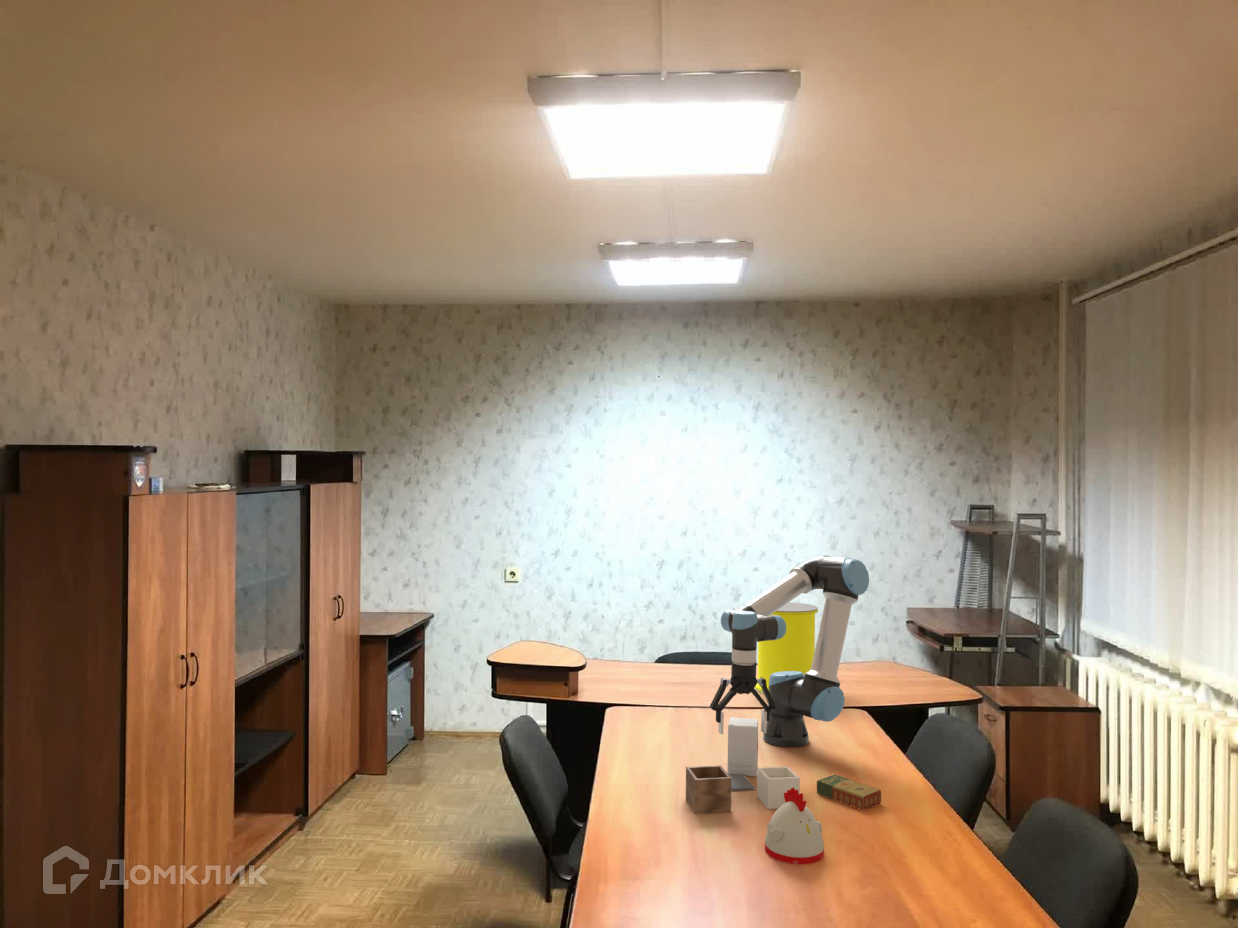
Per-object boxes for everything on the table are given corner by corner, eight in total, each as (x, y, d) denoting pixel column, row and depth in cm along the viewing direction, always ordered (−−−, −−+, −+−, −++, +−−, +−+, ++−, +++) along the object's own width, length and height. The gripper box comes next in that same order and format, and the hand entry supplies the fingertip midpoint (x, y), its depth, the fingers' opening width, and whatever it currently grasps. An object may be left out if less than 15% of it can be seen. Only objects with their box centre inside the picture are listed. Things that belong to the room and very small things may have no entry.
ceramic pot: (787, 794, 240) (787, 766, 240) (799, 806, 231) (799, 777, 231) (757, 796, 239) (757, 767, 239) (767, 808, 230) (768, 779, 230)
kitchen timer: (786, 868, 195) (787, 802, 195) (753, 844, 208) (754, 782, 208) (835, 858, 201) (836, 794, 201) (801, 835, 213) (801, 775, 213)
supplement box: (757, 777, 254) (757, 726, 254) (726, 774, 256) (727, 724, 256) (758, 766, 263) (758, 718, 263) (729, 764, 265) (729, 716, 265)
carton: (863, 811, 229) (863, 796, 229) (815, 793, 242) (815, 778, 242) (881, 804, 235) (881, 789, 235) (834, 787, 247) (834, 772, 247)
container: (754, 680, 374) (755, 600, 374) (814, 683, 370) (815, 602, 371) (755, 695, 348) (756, 610, 349) (820, 698, 344) (820, 612, 345)
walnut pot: (720, 797, 237) (720, 765, 237) (731, 811, 227) (731, 777, 228) (685, 799, 236) (685, 766, 236) (694, 813, 226) (695, 779, 226)
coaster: (742, 776, 255) (742, 774, 255) (754, 789, 244) (754, 787, 244) (707, 777, 253) (707, 775, 253) (717, 791, 242) (717, 789, 242)
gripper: (778, 659, 265) (777, 727, 265) (701, 660, 261) (699, 729, 261) (787, 664, 258) (785, 735, 258) (707, 665, 254) (706, 737, 253)
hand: (742, 732), depth 259 cm, fingers open, 13 cm apart
